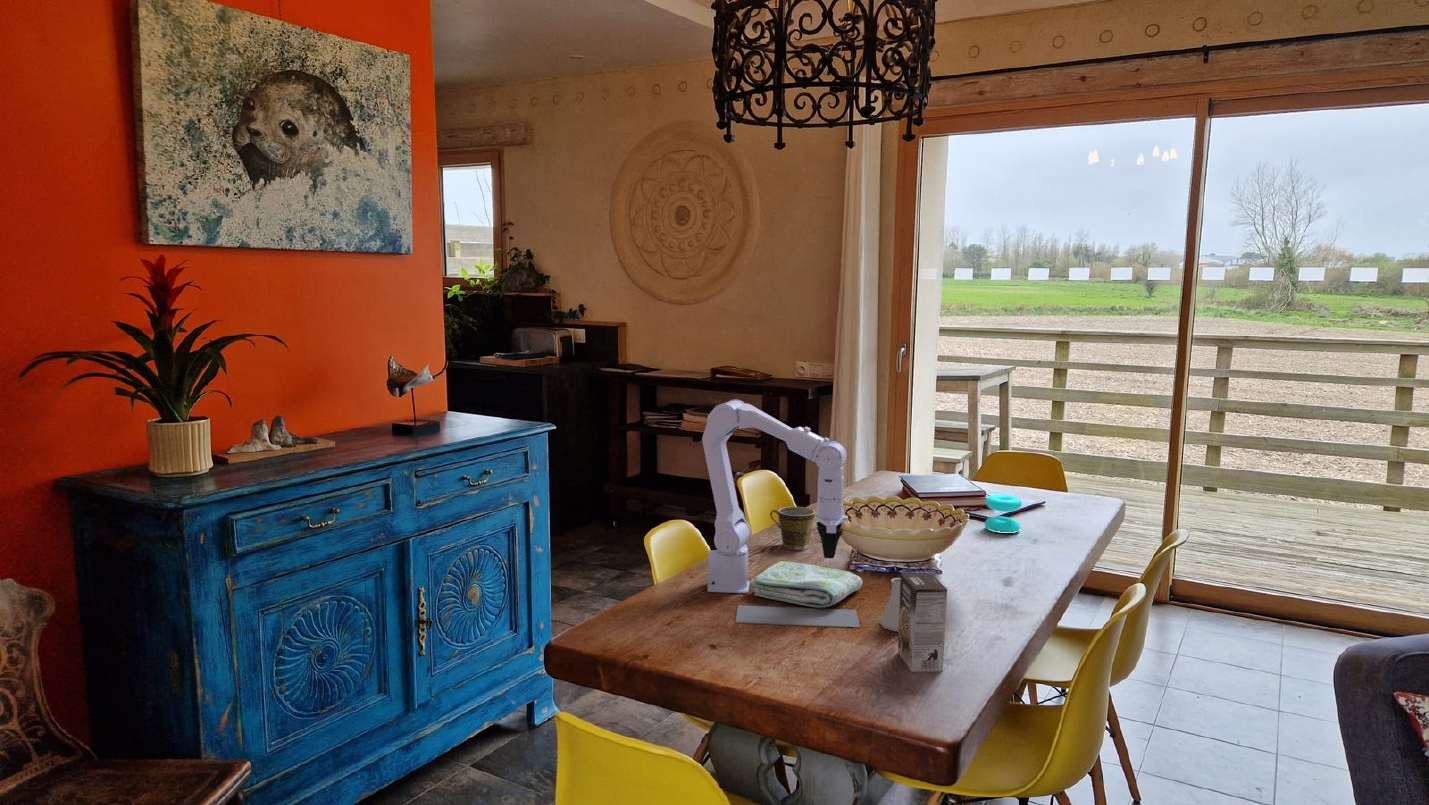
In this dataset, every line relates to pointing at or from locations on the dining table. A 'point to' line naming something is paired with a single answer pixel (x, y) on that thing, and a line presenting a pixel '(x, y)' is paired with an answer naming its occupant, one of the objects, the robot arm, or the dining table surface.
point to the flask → (892, 608)
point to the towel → (805, 584)
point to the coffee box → (922, 622)
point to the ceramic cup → (795, 526)
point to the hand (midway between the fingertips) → (828, 555)
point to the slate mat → (797, 616)
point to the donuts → (1005, 505)
